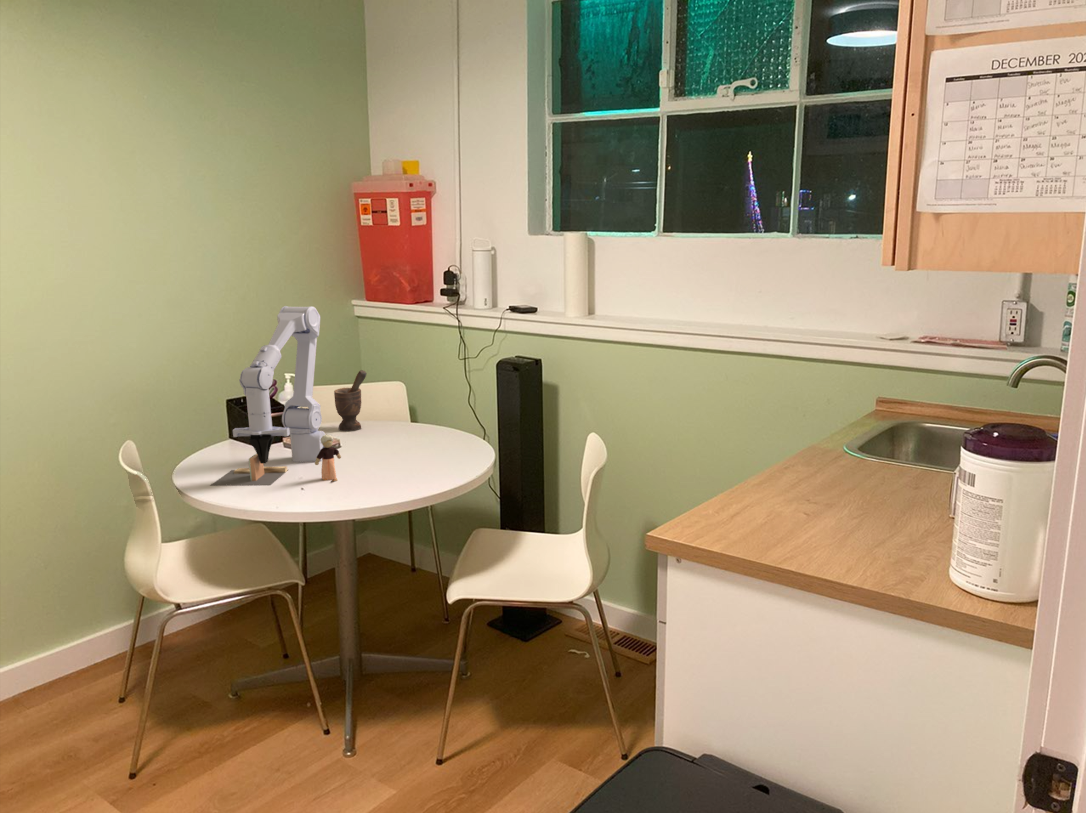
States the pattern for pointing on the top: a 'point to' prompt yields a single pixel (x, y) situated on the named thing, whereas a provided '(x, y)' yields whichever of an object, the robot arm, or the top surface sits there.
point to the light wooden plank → (266, 470)
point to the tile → (255, 468)
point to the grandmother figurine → (327, 458)
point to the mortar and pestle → (349, 404)
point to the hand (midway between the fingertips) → (264, 462)
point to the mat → (246, 479)
